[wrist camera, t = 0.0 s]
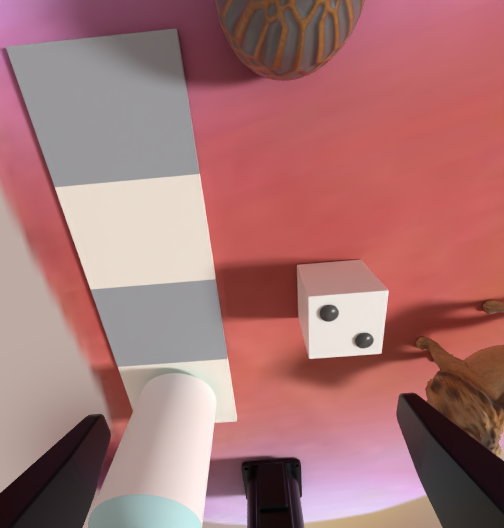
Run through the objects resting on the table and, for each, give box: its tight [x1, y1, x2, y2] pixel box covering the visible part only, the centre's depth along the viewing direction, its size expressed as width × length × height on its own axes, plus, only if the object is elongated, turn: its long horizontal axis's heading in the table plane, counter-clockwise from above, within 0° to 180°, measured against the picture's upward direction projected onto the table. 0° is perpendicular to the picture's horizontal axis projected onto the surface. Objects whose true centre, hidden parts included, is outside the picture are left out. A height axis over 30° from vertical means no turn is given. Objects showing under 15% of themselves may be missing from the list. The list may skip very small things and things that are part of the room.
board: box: [6, 28, 237, 423], centre depth 23 cm, size 32×10×1 cm, turn 5°
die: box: [297, 260, 389, 359], centre depth 21 cm, size 5×5×5 cm
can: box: [88, 373, 216, 528], centre depth 22 cm, size 7×7×12 cm
